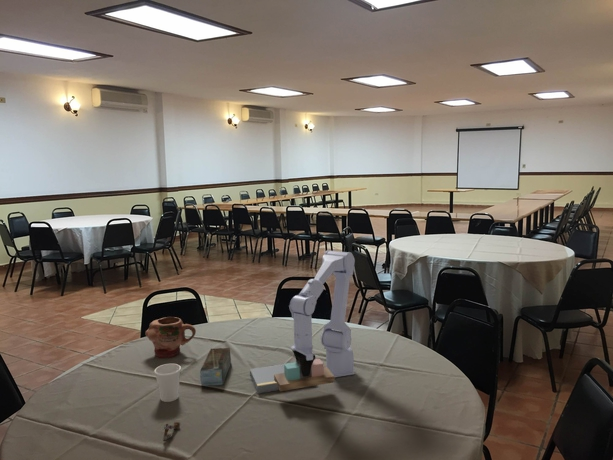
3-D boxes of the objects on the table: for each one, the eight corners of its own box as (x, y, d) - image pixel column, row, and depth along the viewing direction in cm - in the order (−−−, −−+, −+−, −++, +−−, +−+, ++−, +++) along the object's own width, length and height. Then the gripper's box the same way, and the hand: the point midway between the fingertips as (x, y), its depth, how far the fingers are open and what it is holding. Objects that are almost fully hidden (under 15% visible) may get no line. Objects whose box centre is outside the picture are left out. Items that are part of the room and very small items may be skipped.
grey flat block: (303, 367, 181) (303, 360, 180) (315, 383, 168) (315, 376, 167) (250, 375, 175) (249, 368, 175) (257, 393, 162) (257, 386, 161)
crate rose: (319, 370, 162) (319, 358, 161) (323, 375, 158) (323, 363, 157) (308, 371, 161) (307, 360, 160) (311, 377, 157) (311, 365, 156)
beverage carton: (200, 386, 168) (198, 368, 167) (210, 363, 187) (209, 346, 186) (223, 386, 168) (222, 367, 167) (231, 362, 187) (230, 346, 186)
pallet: (326, 371, 165) (325, 353, 164) (334, 382, 157) (334, 363, 156) (274, 380, 160) (273, 361, 159) (280, 391, 152) (279, 371, 151)
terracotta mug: (199, 346, 204) (197, 313, 202) (195, 357, 192) (193, 323, 190) (150, 348, 202) (147, 316, 200) (143, 360, 190) (140, 326, 188)
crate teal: (296, 373, 160) (296, 362, 159) (299, 378, 156) (299, 367, 155) (284, 375, 158) (284, 363, 158) (287, 380, 155) (287, 368, 154)
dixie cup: (187, 393, 163) (185, 365, 161) (173, 405, 155) (171, 375, 154) (166, 390, 166) (164, 362, 164) (151, 401, 158) (148, 372, 156)
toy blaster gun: (159, 441, 134) (161, 424, 135) (172, 437, 142) (174, 420, 143) (165, 442, 134) (168, 424, 135) (178, 438, 141) (180, 421, 142)
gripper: (285, 326, 162) (286, 365, 164) (297, 342, 148) (298, 384, 150) (305, 324, 164) (306, 362, 166) (319, 339, 150) (320, 381, 152)
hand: (303, 372), depth 158 cm, fingers closed on pallet, 4 cm apart
